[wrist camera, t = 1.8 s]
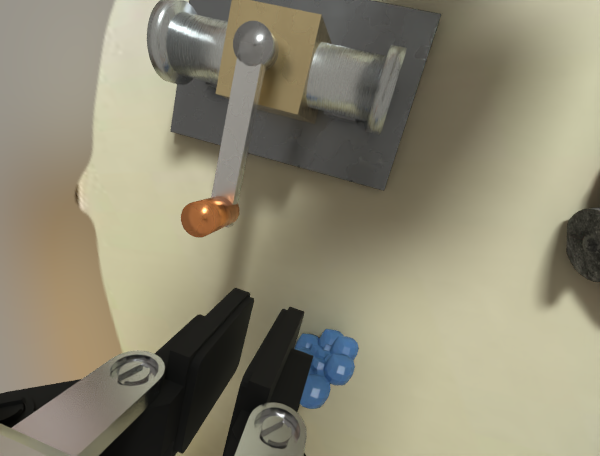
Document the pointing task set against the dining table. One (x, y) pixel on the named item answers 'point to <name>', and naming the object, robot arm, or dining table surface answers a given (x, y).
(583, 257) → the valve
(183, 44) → the valve body
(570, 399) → the dining table surface
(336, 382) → the grapes
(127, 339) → the dining table surface
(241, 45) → the lever
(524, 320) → the dining table surface
